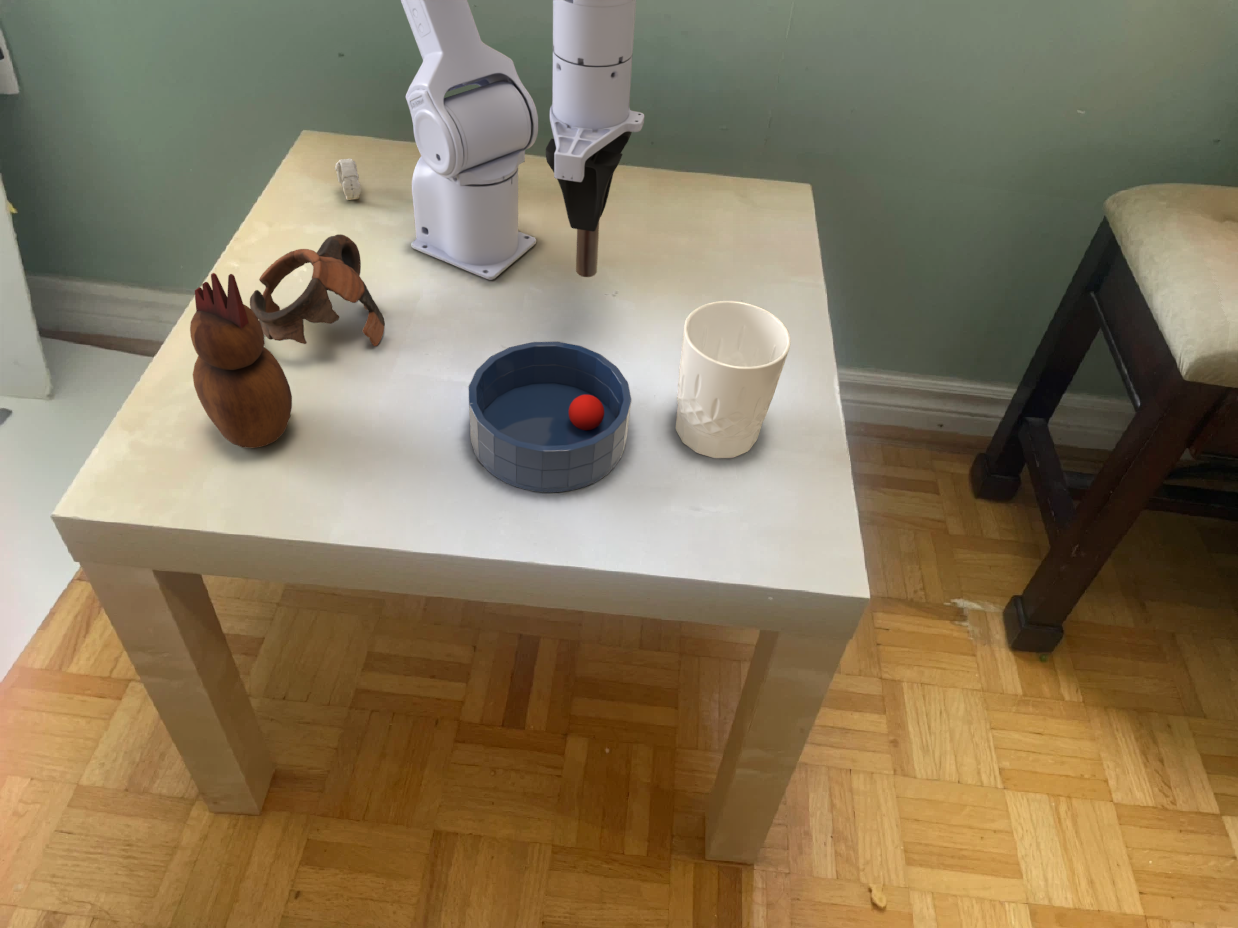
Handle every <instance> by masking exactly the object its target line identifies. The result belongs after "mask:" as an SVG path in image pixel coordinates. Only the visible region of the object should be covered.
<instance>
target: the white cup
mask: <svg viewBox="0 0 1238 928" xmlns="http://www.w3.org/2000/svg"><path fill="white" fill-rule="evenodd" d="M682 334H683V335H682V344H681V353H680V360H679V368H678V381H677V394H676V400H677V411H676V421H675V431H676V433H677V435H678V436H679V438H680V440H681V442H682V443H683V444H684V445H685V446H687V447H688V448H689V449H690V450H692V451H694V452H695V453H697V454H700V455H703V456H706V457H709V458H713V459H733V458H736V457H738V456H741V455H743V454H745V453H747V452H749V451H750V450H751V449H752V447H753V446H754V445H755V444H756V442H757V441H758V438H759V435H760V432H761V429H762V426H763V423H764V421H765V419H766V417H767V415H768V413H769V410H770V406H771V403H772V401H773V399H774V396H775V393H776V391H777V387H778V384H779V381H780V378H781V375H782V372H783V369H784V366H785V363H786V360H787V358H788V355H789V351H790V348H791V343H792V339H791V335H790V332H789V330H788V328H787V326H786V324H784V323H783V321H782V320H781V319H780V318H779V317H778V316H777V315H775V314H773V313H772V312H770V311H768V310H767V309H764V308H763V307H760V306H758V305H755V304H752V303H748V302H744V301H738V300H719V301H712V302H708V303H705V304H703V305H700V306H698V307H696V308H694V310H692V311H691V312H690V313H689V314H688V316H687V317H686V319H685V321H684V325H683V333H682Z"/></svg>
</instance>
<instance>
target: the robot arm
mask: <svg viewBox="0 0 1238 928" xmlns="http://www.w3.org/2000/svg"><path fill="white" fill-rule="evenodd" d="M400 2H401V5H402V7H403V10H404V14H405V16H406V19H407V21H408V23H409V26H410V29H411V32H412V35H413V37H414V40H415V42H416V43H415V44H416V46H417V48H418V51H419V53H420V56H421V58H422V63H421V65H420V67H419V68H418V70H417V72H416V74H415V76H414V77H413V79H412V81H411V83H410V85H409V87H408V88H407V91H406V94H405V99H406V103H407V106H408V109H409V113H410V116H411V120H412V125H413V136H414V141H415V144H416V146H417V149H418V152H419V154H420V157H419V159H418V160H417V162H416V164H415V167H414V170H413V172H412V173H413V174H412V178H411V195H412V204H413V206H412V207H413V216H414V226H415V227H414V228H415V237H416V238H415V239H413V241H411V245H410V246H411V248H412V249H414V250H416V251H419V252H421V253H423V254H425V255H427V256H430V257H433V258H435V259H438V260H440V261H442V262H445V263H447V264H450V265H452V266H455V267H457V268H459V269H461V270H464V271H467V272H469V273H471V274H474V275H476V276H479V277H481V278H484V279H486V280H489V281H492V280H495V279H496V278H497V277H498V276H499V275H501V274H502V273H503V272H504V271H506V269H508V268H509V267H510V266H511V265H513V263H515V262H516V261H518V259H519V258H521V257H522V256H523V255H524V254H526V253H527V252H528V251H529V250H530V249H531V248H532V247H534V246H535V245H536V243H537V239H536V237H535V236H532V235H530V234H527V233H525V232H522V231H520V230H519V167H520V165H522V164H524V163H525V162H526V151H527V150H528V149H530V148H532V147H533V146H534V145H535V143H536V141H537V138H538V133H539V115H538V110H537V107H536V104H535V102H534V99H533V97H532V96H531V94H530V93H529V91H528V90H527V89H526V87H525V86H524V84H523V82H522V81H521V78H520V76H519V74H518V72H517V69H516V67H515V63H514V60H513V59H512V58H510V57H509V56H507V55H505V54H504V53H502V52H500V51H498V50H496V49H495V48H493V47H491V46H489V45H487V43H484V42H483V41H482V39H481V36H480V33H479V31H478V27H477V24H476V22H475V19H474V16H473V13H472V10H471V7H470V4H469V1H468V0H400ZM636 9H637V0H552V104H551V105H550V108H549V122H550V127H551V131H552V136H553V138H550V140H549V142H548V143H547V145H546V147H545V159H546V163H547V165H548V166H549V167H550V169H551V170H552V172H553V175H554V176H553V179H556V180H557V182H558V185H559V188H560V190H561V194H562V197H563V201H564V206H565V210H566V211H565V212H566V215H567V219H568V223H569V226H570V228H571V229H572V230H573V229H575V230H577V229H580V230H586V231H593V232H594V231H595V230H596V228H597V225H598V223H599V224H600V220H601V217H602V216H603V213H604V212H605V211H604V210H605V209H606V206H607V202H608V198H609V193H610V190H611V185H612V181H613V177H614V174H615V171H616V169H617V168H618V166H619V164H620V162H621V159H622V157H623V151H624V149H625V147H626V146H627V144H628V143H629V140H630V138H631V136H632V133H639V132H641V131H642V130H643V127H644V124H645V114H644V113H643V112H640V111H635V110H632V109H631V108H630V99H631V84H632V70H633V69H632V68H633V55H634V41H635V40H634V39H635V28H636V27H635V25H636V23H635V22H636ZM472 85H476V86H477V87H475V88H471V89H468V90H466V91H462V92H458V93H456V94H451V95H449V96H447V97H446V93H448V92H451V91H455V90H457V89H460V88H464V87H467V86H472Z"/></svg>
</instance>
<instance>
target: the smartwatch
mask: <svg viewBox="0 0 1238 928" xmlns="http://www.w3.org/2000/svg"><path fill="white" fill-rule="evenodd" d="M357 166H358V165H357V162H356V161H355V160H353V158H343V159H339V160H338V161H337V162H336V163H335V167H334V170H335V171H334V172H336V178H337V179H336V180H337V182H338V183H339V184H340V185H341V186H342V189H343V190H342V191H343V195H344V197H345V199H346V201H352V200H358V199H360V194H361V192H362V189H361V183H360V181H359V179H360V176H359V173H358V167H357Z"/></svg>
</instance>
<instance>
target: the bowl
mask: <svg viewBox="0 0 1238 928" xmlns="http://www.w3.org/2000/svg"><path fill="white" fill-rule="evenodd" d="M628 382H629V381H627V379H626V377H625V376H624V375H623V373H622V372H621V370H620V369H619V368H618V366H617V365H615V364H614V363H613V362H611V361H610V360H609V359H607V358H606V357H605V356H604V355H602V354H601V353H598V352H596V351H593V350H591V349H589V348H587V347H584V346H582V345H578V344H573V343H567V342H563V341H556V340H555V341H531V342H526V343H522V344H518V345H512V346H509V347H507V348H505V349H503V350H500V351H499V352H497V353H495V354H493V355H490V356H489V357H488V358H487V360H485V361H484V362H483V363H482V364H481V365H480V366H479V367H478V368H476V370H475V372H474V374H473V376H472V378H471V381H470V383H469V385H468V412H469V431H470V433H469V434H470V442H471V446H472V450H473V453H474V454H475V456H476V458H477V460H478V461H479V462H480V464H481V465H482V467H484V468H485V469H486V470H487V471H488V472H489V473H490V474H491V475H493V476H494V477H495V478H497V479H499V480H500V481H502V482H504V483H505V484H508V485H510V486H513V487H514V488H518V489H522V490H526V491H532V492H537V493H563V492H570V491H575V490H579V489H582V488H585V487H588V486H591V485H592V484H594V483H596V482H598V481H599V480H601V479H603V478H604V477H605V476H607V475H608V474H609V473H610V472H611V471H612V470H614V468H615V467H616V466H617V465H618V463H619V461H620V460H621V458H622V456H623V453H624V451H625V448H626V442H627V438H628V431H629V422H630V416H631V409H632V395H631V389H630V385H629V383H628ZM581 395H592V396H594V397H596V398H597V399H599V400H600V402H601V403H602V405H603V407H604V418H603V420H602V422H601V423H600V425H599V426H597V427H596V428H594V429H592V430H581V429H579V428H577V427H575V426H574V425H573V424H572V422H571V420H570V418H569V407H570V404H571V403H572V401H573V400H574V399H575V398H577V397H578V396H581Z"/></svg>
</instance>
